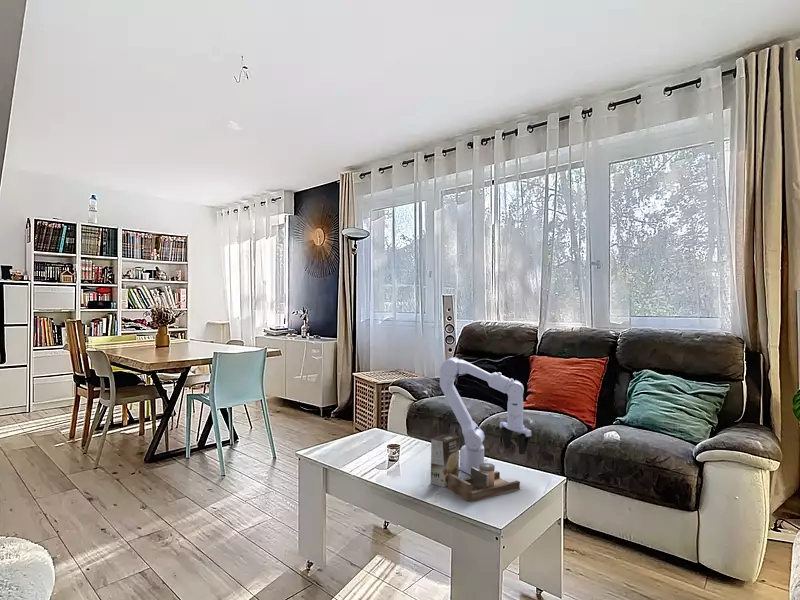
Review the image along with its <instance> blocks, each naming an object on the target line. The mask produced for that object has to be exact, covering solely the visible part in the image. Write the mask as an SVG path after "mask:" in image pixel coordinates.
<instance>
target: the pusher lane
mask: <svg viewBox="0 0 800 600" xmlns="http://www.w3.org/2000/svg"><path fill="white" fill-rule="evenodd" d="M500 475H501V474H500V471H497V470H496V471H494V486H493V487H489V488H485V489H481V490H480V489H478V488H476V487H474V486H473V485H472V484H471V476H470V477H467V478H461V477H457V476H455V475H453V474H451V473H450V474H448V486H447V490H448V491H450V492H451V493H452V494H454V495H456V496H458V497H459V498H462V499H463V500H465V501H466V502H468V503H472V502H475V501H476V502H477V501H479V500H483V499H487V498H491V497H494V496H499V495H503V494H506V493H511V492H514V491H518V490H521V483H520V482H521V481H519V480H518V479H517V480H514V481H507V480H506V479H503V478H501V476H500Z"/></svg>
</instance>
